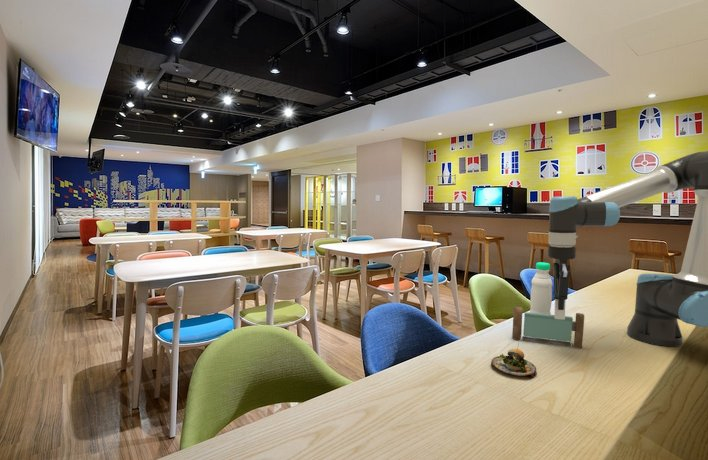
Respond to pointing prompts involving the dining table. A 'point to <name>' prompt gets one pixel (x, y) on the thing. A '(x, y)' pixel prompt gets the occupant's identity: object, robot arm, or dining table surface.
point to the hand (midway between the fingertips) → (559, 318)
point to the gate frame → (578, 339)
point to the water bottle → (541, 290)
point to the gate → (547, 327)
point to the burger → (514, 364)
